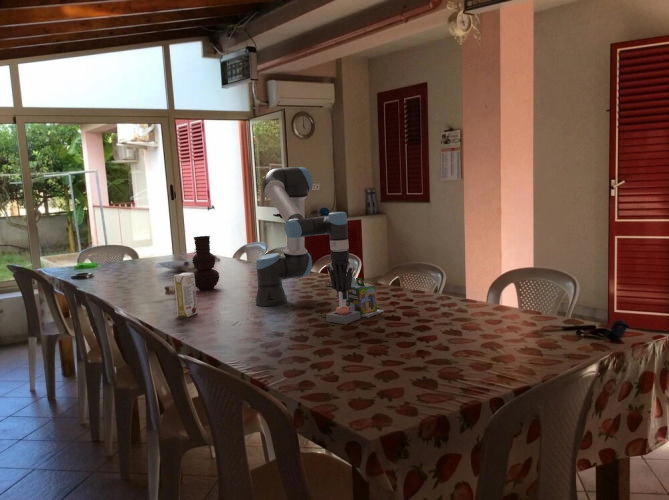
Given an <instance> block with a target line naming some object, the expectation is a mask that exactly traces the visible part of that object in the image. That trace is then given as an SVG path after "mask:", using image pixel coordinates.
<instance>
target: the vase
mask: <svg viewBox="0 0 669 500" xmlns="http://www.w3.org/2000/svg"><path fill="white" fill-rule="evenodd" d="M210 238H211V235H200V236H194V237H193V240H194V246H195V255H193V256H192V260H191V261H192V265H193V267H194V269H195V270H196V271H194V272H193V273H194V277H195V287H196V288H197V289H198V291H199V292H210V291H211V292H212V291H214V289H215V287H216V286H217V284H218V283H219V281H220V272H218V271H217V269H213V268H214V267H215V264H216V256H215V255H214V254H213V253H211V245H210V244H211V241H210V240H211V239H210Z"/></svg>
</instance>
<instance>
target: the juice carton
mask: <svg viewBox="0 0 669 500" xmlns="http://www.w3.org/2000/svg"><path fill="white" fill-rule="evenodd" d="M173 281H174V289H175V290H174V293H175V303H176V312H177V313H176V314H177V317H183V318H184V317H186V318H189V317H191V316H194V315H197V314H198V300H197V290H196V288H197V287H196V286H195V277H194V272H182V273H180V274H174V275H173Z"/></svg>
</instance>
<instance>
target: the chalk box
mask: <svg viewBox="0 0 669 500" xmlns="http://www.w3.org/2000/svg"><path fill="white" fill-rule="evenodd" d="M355 282H356V283H355V284H354V285H351V289H350V290H348V306H349V310H352V311H359V312H360V315H362V314H366V313H369V312H374V311H377V309H378V303H377V285H376V284H373V283H365V282H364V280H363V278H361V277H355Z"/></svg>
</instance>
